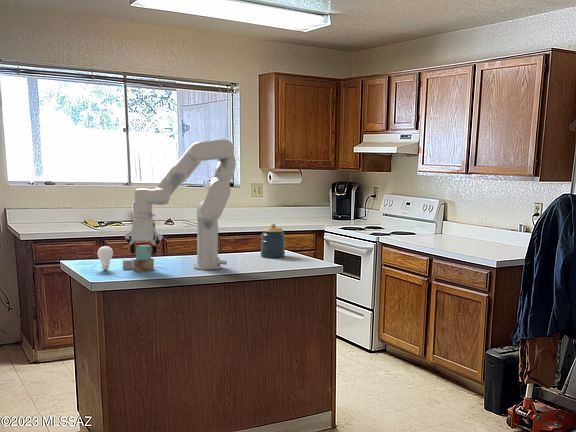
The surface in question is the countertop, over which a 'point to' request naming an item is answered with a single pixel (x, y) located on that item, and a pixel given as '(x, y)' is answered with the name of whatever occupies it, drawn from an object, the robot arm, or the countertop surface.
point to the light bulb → (105, 256)
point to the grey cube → (128, 264)
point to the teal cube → (143, 252)
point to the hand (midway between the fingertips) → (143, 253)
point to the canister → (272, 242)
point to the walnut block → (143, 265)
